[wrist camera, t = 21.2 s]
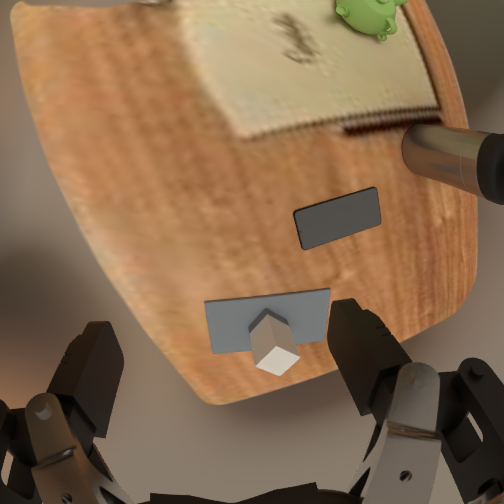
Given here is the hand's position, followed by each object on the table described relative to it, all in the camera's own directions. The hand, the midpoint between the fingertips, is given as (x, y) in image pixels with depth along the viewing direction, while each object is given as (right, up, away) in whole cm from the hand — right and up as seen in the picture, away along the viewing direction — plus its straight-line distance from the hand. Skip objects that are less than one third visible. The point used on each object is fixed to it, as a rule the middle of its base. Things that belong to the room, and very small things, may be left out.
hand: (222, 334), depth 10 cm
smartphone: (+15, +9, +35) cm, 39 cm away
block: (+5, -14, +31) cm, 35 cm away
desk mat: (+4, -10, +41) cm, 43 cm away
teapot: (+18, +42, +21) cm, 50 cm away
